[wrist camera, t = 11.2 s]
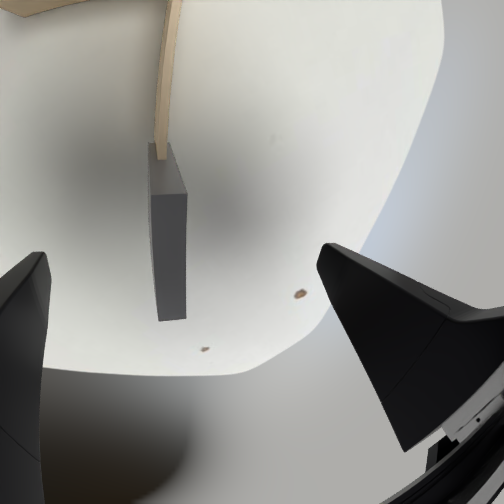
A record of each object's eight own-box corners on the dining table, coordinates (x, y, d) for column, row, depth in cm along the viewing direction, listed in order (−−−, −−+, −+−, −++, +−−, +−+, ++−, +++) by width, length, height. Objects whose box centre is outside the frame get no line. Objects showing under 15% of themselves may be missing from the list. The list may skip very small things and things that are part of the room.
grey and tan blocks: (164, 210, 21) (186, 318, 12) (147, 211, 20) (158, 321, 12) (181, -4, 13) (223, -79, 4) (162, -5, 12) (184, -82, 4)
